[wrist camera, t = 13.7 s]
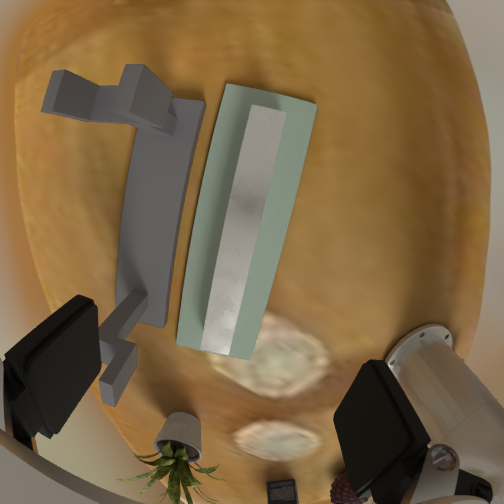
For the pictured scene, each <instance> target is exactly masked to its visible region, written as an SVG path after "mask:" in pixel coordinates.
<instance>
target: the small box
mask: <svg viewBox="0 0 504 504" xmlns="http://www.w3.org/2000/svg"><path fill="white" fill-rule="evenodd" d="M266 486H267V497H268V504H299V500H298V494H297V488H296V484H295V480H294V479H292V480H284V481H275V482H267V483H266Z"/></svg>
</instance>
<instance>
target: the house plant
mask: <svg viewBox="0 0 504 504" xmlns="http://www.w3.org/2000/svg"><path fill="white" fill-rule="evenodd" d="M153 446H154V448H155V450H156V451H157V452H158V453H156V454H154V455H148V456H140V455H136V454H135V456H136V457H139V458H143V459H144V458H150V457H154V456H156V455H157V454H160V455H162V456H161V457H160V458H159V459H157V460H155V461H153V462H147V461H143V460H140V459H139V460H140V461H142V462H144V463H146V464H148V465H152V466H156V465H159V466H158V467H156V468H155V469H153V470H151V471H150V472H148V473H145V474H143V475H139V476H136V477H134V478H131V479H118V480H120V481H135V480H138V479H141V478H144V477H147V476H149V475H151V474H152V473H153V472H155V471H156V470H157V469H158V470H157V472H156V473H155V474H154V475H153V476H151V477H150V478H153V479H152V480H151V481H150V482H149V483H148V484H147V485H146V486H145V488H144V489H143V490H142V492H141V493H143V492H144V491H145V490H146V489H148V488H149V487H150V486H151V485H152V484H153V483H154V482H155V481H156V480H160V479H162V478H163V477H164V476H165V475H167V474H168V473H169V471H170V470H171V471H170V475H169V482H168V488H167V491H166V492H165V493H164V494H162V495H166V494H167V493H169V497H170V499H171V501H172V503H173V504H179V502H180V493H181V492H180V480H181V484H182V486H183V489H184V492H185V496H186V499H187V502H188V504H193V502H192V499H191V496H190V493H189V491H188V489H187V486H190V487H193V488H198V487H199V485H200V484H201V483H200V482H199V481H198V480H196V479H195V478H194V477H193V475H192V473H191V471H190V468H189V466H190V467H191V468H193V467H192V466H191V465H189V463H195V464H196V465H198V464H197V463H196V462H197V461H199V460H200V459H201V458H202V444H201V423H200V421H199V420H198V419H197V418H196V417H195V416H193V415H191V414H189V413H185V412H173V413H171V414H170V415H169V417H168V418H167V420H166V422H165V424H164V426H163V427H162V429H161V431H160V433H159V434H158V436H157V438H156V440H155V442H154V445H153ZM198 466H199V465H198ZM218 466H219V465H218ZM218 466H216V467H210V468H204V469H202V468H201V467H200V466H199V467H200V468H201V469H194V468H193V469H194V470H196V471H198V472H200V473H206V474H208V473H211V472H213V471H215V470H216V468H217V467H218ZM160 467H161V468H160ZM159 468H160V469H159ZM208 475H209V474H208ZM209 476H210V477H212V478H214V479H217V478H215V477H213V476H211V475H209ZM217 480H221V479H217ZM225 481H226V480H225ZM195 485H196V486H195ZM197 485H198V486H197ZM198 489H199V488H198ZM194 490H195V489H194ZM195 491H196V490H195ZM196 492H197V491H196ZM200 492H201V491H200ZM197 493H198V492H197ZM201 493H202V492H201ZM202 494H203V493H202ZM203 495H204V494H203ZM202 498H203V497H202ZM207 498H208V497H207ZM209 499H210V498H209ZM205 500H206V499H205ZM211 500H213V499H211ZM206 501H207V500H206ZM215 501H217V500H215ZM208 502H209V501H208ZM210 503H212V502H210ZM158 504H159V503H158ZM212 504H215V503H212Z"/></svg>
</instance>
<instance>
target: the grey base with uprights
mask: <svg viewBox="0 0 504 504" xmlns="http://www.w3.org/2000/svg"><path fill="white" fill-rule="evenodd" d="M172 93H173V92H172V91H171V90H170V89H169V88H168V87H167V86H166V85H165V84H164V83H163V82H162V81H161V80H160V79H159V78H158V77H157V76H156V75H155V74H154V73H153V72H152V71H151V70H150V69H148V68H147V67H146V66H145V65H144V64H126V65H125V68H124V70H123V73H122V76H121V79H120V83H119V86H99V85H97V84H95V83H93V82H91V81H89V80H87V79H85V78H83V77H80V76H78V75H76V74H74V73H72V72H70V71H68V70H65V69H64V70H58V71H53V73H52V75H51V78H50V82H49V85H48V88H47V91H46V95H45V98H44V102H43V105H42V109H41V112H44V113H49V114H54V115H59V116H63V117H68V118H72V119H76V120H81V121H85V122H101V123H118V124H128V125H131V126H134V127H137V133H136V137H135V141H134V146H133V151H132V156H131V161H130V166H129V171H128V177H127V183H126V189H125V196H124V203H123V210H122V219H121V228H120V238H119V250H118V265H117V288H116V309H115V310H114V311H113V312H112V313H111V314H110V315H109V317H108V318H107V319H106V320H105V321H104V322H103V323H102V324H101V326H100V327H99V342H100V353H101V362H102V363H104V364H107V365H108V367H107V368H106V370H105V371H104V373H103V374H102V376H101V377H100V379H99V386H100V391H101V397H102V402H103V403H105V404H108V405H110V406H113V407H116V405H117V403H118V401H119V399H120V397H121V395H122V393H123V391H124V389H125V387H126V385H127V383H128V381H129V379H130V378H131V376H132V374H133V372H134V370H135V368H136V366H137V357H136V344H135V343H132V342H129V341H125V339H126V337H127V336H128V335H129V333H130V332H131V330H132V329H133V327H134V326H135V325H136V323H137V322H138V321H139V322H142V323H146V324H149V325H153V326H156V327H160V328H164V327H165V325H166V323H167V317H168V308H169V299H170V290H171V282H172V275H173V267H174V260H175V253H176V247H177V241H178V234H179V228H180V223H181V217H182V211H183V206H184V201H185V195H186V190H187V185H188V180H189V176H190V171H191V166H192V162H193V157H194V153H195V149H196V144H197V140H198V136H199V132H200V128H201V124H202V120H203V116H204V112H205V109H206V104H205V102H204V101H198V100H190V99H182V98H172Z"/></svg>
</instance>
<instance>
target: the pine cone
mask: <svg viewBox="0 0 504 504" xmlns="http://www.w3.org/2000/svg"><path fill="white" fill-rule="evenodd" d="M331 487H332V489H331V490H330V493H331V494H330V497H331V502H332V503H334V504H363V503H364V502H366V501H367V500H368V498H369V497H365V498H359V499H357V497H356V493H355V492H353V491H352V490H351V486H350V482H349V478H348V474H347V471H346V472H345V473H344V474H341V475H340V476H339V477H338V478H336V479H335V481H334V482H333V483H332V485H331ZM370 497H371V496H370Z"/></svg>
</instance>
